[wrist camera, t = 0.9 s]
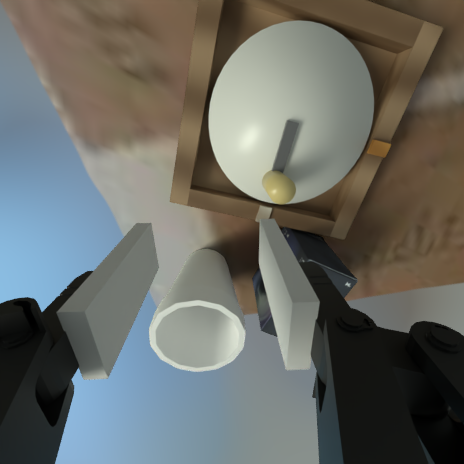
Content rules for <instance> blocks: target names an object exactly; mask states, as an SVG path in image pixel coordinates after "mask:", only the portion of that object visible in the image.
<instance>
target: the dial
mask: <svg viewBox="0 0 464 464" xmlns="http://www.w3.org/2000/svg"><path fill="white" fill-rule="evenodd" d="M373 113H374V94H373V86H372V82H371V78H370V74H369V71H368V69H367V66H366V64H365V62H364V60H363V58H362V57H361V55H360V53H359V52H358V50H357V49H356V48H355V47H354V45H353V44H352V43H351V42H350V41H349V40H348V39H347V38H345V37H344V36H343V35H342V34H340V33H339V32H337V31H336V30H334V29H332V28H330V27H328V26H325V25H323V24H320V23H315V22H311V21H299V20H298V21H288V22H283V23H279V24H275V25H272V26H270V27H268V28H265V29H263V30H261V31H259V32H258V33H256V34H255V35H253V36H252V37H250V38H249V39H248V40H247V41H245V42H244V43H243V44H242V45H241V46H240V47H239V48H238V49H237V50H236V51H235V52H234V53H233V54H232V56H231V57H230V58H229V60H228V61H227V63H226V64H225V66H224V67H223V69H222V71H221V73H220V75H219V77H218V79H217V81H216V84H215V87H214V89H213V93H212V97H211V101H210V108H209V134H210V141H211V145H212V149H213V152H214V154H215V157H216V160H217V162H218V163H219V165H220V167H221V169H222V170H223V172H224V173H225V175H226V176H227V177H228V179H229V180H230V181H231V182H232V183H233V184H234V185H235V186H236V187H238V188H239V189H240V190H241V191H243V192H244V193H246V194H248V195H249V196H251V197H254V198H256V199H258V200H261V201H265V202H269V203H275V204H291V203H298V202H302V201H306V200H309V199H312V198H314V197H316V196H318V195H320V194H322V193H324V192H326V191H327V190H329V189H330V188H332V187H333V186H334V185H336V184H337V183H338V182H339V181H340V180H341V179H342V178H343V177H344V176H345V175H346V174H347V173H348V172H349V171H350V169H351V168H352V167H353V166H354V164H355V163H356V161H357V160H358V158H359V157H360V155H361V153H362V151H363V149H364V147H365V145H366V142H367V139H368V137H369V134H370V130H371V126H372V121H373Z"/></svg>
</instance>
